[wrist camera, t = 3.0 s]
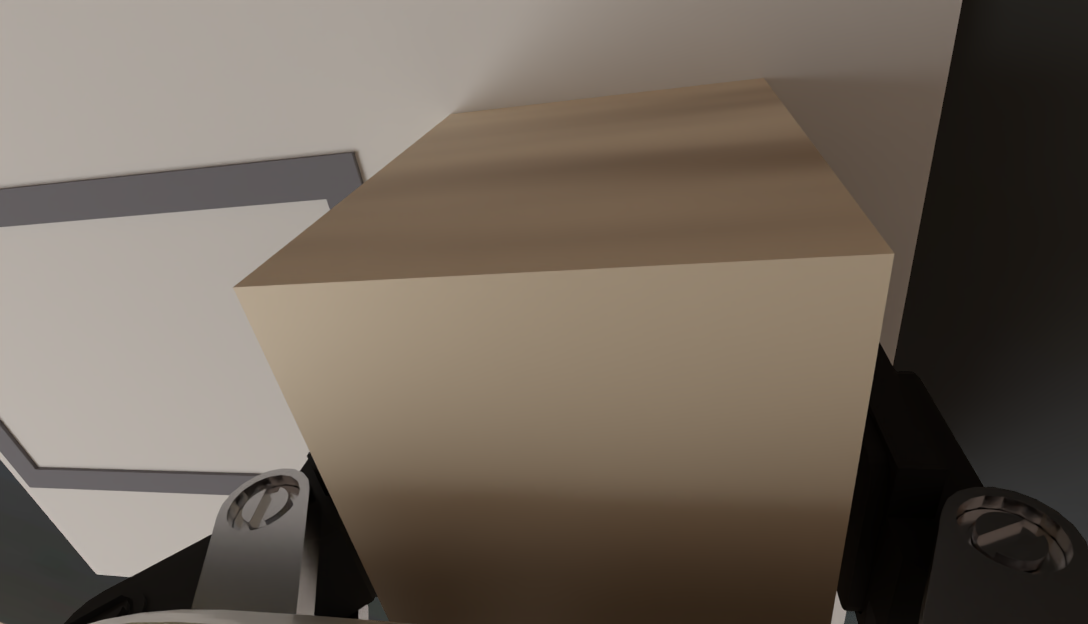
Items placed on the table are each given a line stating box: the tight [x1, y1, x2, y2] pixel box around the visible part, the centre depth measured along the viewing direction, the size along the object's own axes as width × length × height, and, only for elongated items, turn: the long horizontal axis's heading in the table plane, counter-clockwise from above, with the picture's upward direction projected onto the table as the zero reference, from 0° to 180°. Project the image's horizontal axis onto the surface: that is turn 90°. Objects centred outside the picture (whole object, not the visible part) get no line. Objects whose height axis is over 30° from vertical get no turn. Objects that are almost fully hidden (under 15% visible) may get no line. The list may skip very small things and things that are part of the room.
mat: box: [0, 0, 962, 624], centre depth 14 cm, size 24×18×1 cm
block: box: [233, 78, 894, 624], centre depth 9 cm, size 10×5×6 cm, turn 8°
